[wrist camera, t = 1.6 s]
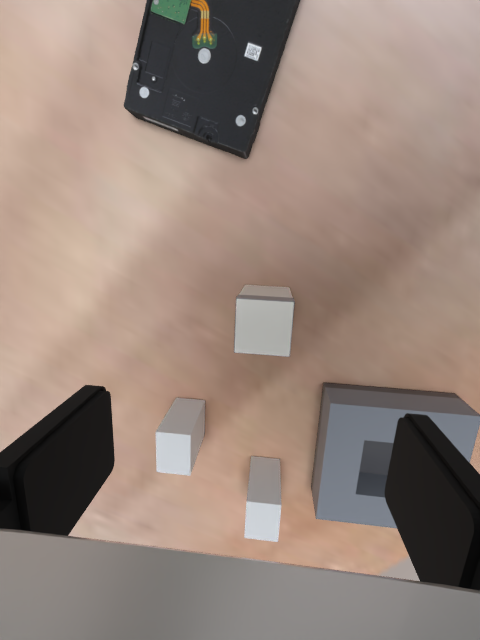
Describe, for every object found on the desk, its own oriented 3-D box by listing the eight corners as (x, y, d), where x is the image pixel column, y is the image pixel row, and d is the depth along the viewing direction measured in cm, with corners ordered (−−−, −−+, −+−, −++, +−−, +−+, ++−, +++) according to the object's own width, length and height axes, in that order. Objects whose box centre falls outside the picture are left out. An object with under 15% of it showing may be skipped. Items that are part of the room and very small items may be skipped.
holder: (454, 393, 30) (481, 416, 26) (429, 499, 33) (450, 534, 29) (323, 382, 31) (330, 403, 27) (311, 486, 34) (315, 518, 30)
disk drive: (250, 162, 27) (319, -52, 23) (248, 154, 25) (325, -90, 21) (136, 121, 27) (184, -100, 23) (121, 109, 25) (172, -144, 21)
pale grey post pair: (284, 407, 32) (286, 444, 26) (277, 490, 35) (277, 542, 29) (176, 397, 33) (155, 431, 27) (176, 479, 35) (158, 526, 30)
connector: (289, 286, 29) (294, 301, 22) (286, 330, 30) (289, 357, 23) (244, 284, 29) (235, 298, 23) (242, 327, 30) (233, 353, 24)
